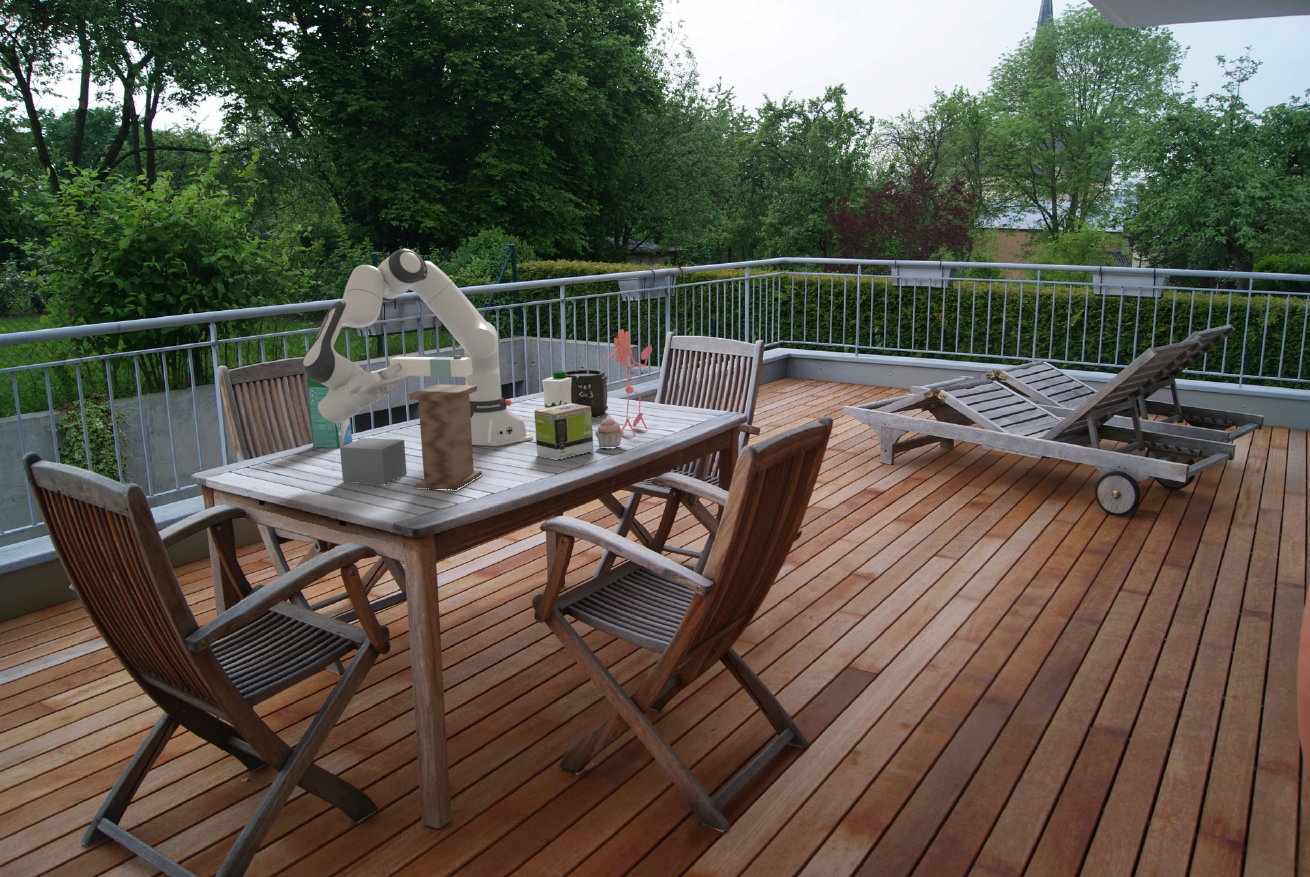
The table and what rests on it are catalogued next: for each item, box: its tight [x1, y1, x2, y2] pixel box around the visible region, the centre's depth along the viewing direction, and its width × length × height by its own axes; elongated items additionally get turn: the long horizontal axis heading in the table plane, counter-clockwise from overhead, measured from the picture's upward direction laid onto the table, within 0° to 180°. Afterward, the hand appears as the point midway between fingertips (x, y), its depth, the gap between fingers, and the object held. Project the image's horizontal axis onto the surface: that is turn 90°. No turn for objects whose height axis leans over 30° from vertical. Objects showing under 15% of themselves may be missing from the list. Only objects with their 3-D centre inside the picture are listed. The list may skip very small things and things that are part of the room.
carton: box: [388, 354, 472, 378], centre depth 256 cm, size 22×5×5 cm, turn 75°
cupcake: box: [594, 415, 625, 448], centre depth 300 cm, size 9×9×10 cm
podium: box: [339, 437, 407, 485], centre depth 267 cm, size 13×12×10 cm
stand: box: [408, 383, 483, 490], centre depth 259 cm, size 12×16×26 cm
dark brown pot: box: [564, 369, 609, 418], centre depth 353 cm, size 18×18×16 cm
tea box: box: [534, 403, 595, 461], centre depth 291 cm, size 15×10×15 cm
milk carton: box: [306, 377, 353, 449], centre depth 308 cm, size 9×9×25 cm
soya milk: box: [541, 370, 572, 409], centre depth 325 cm, size 9×9×20 cm
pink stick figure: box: [603, 328, 656, 435], centre depth 320 cm, size 15×26×35 cm, turn 154°
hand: (405, 364), depth 258 cm, fingers closed on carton, 4 cm apart
